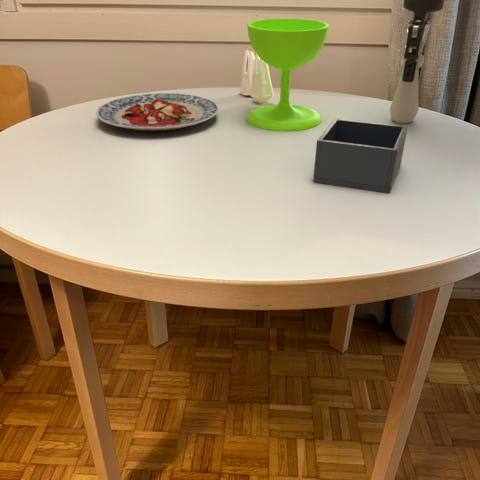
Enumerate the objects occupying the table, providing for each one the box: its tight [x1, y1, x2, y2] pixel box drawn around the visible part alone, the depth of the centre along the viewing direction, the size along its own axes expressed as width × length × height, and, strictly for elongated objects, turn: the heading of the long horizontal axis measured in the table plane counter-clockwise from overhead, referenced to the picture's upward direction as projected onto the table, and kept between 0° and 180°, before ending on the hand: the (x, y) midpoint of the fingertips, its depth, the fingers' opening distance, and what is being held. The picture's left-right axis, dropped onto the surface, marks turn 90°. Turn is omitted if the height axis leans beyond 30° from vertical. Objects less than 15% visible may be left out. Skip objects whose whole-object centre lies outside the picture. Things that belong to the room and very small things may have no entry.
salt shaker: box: [389, 53, 425, 125], centre depth 109 cm, size 6×6×13 cm
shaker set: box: [239, 49, 275, 104], centre depth 123 cm, size 12×4×11 cm, turn 22°
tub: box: [312, 118, 409, 194], centre depth 87 cm, size 12×12×7 cm
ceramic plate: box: [95, 92, 219, 132], centre depth 113 cm, size 26×26×3 cm
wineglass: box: [246, 17, 330, 132], centre depth 109 cm, size 16×16×18 cm
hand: (409, 77), depth 108 cm, fingers open, 5 cm apart
